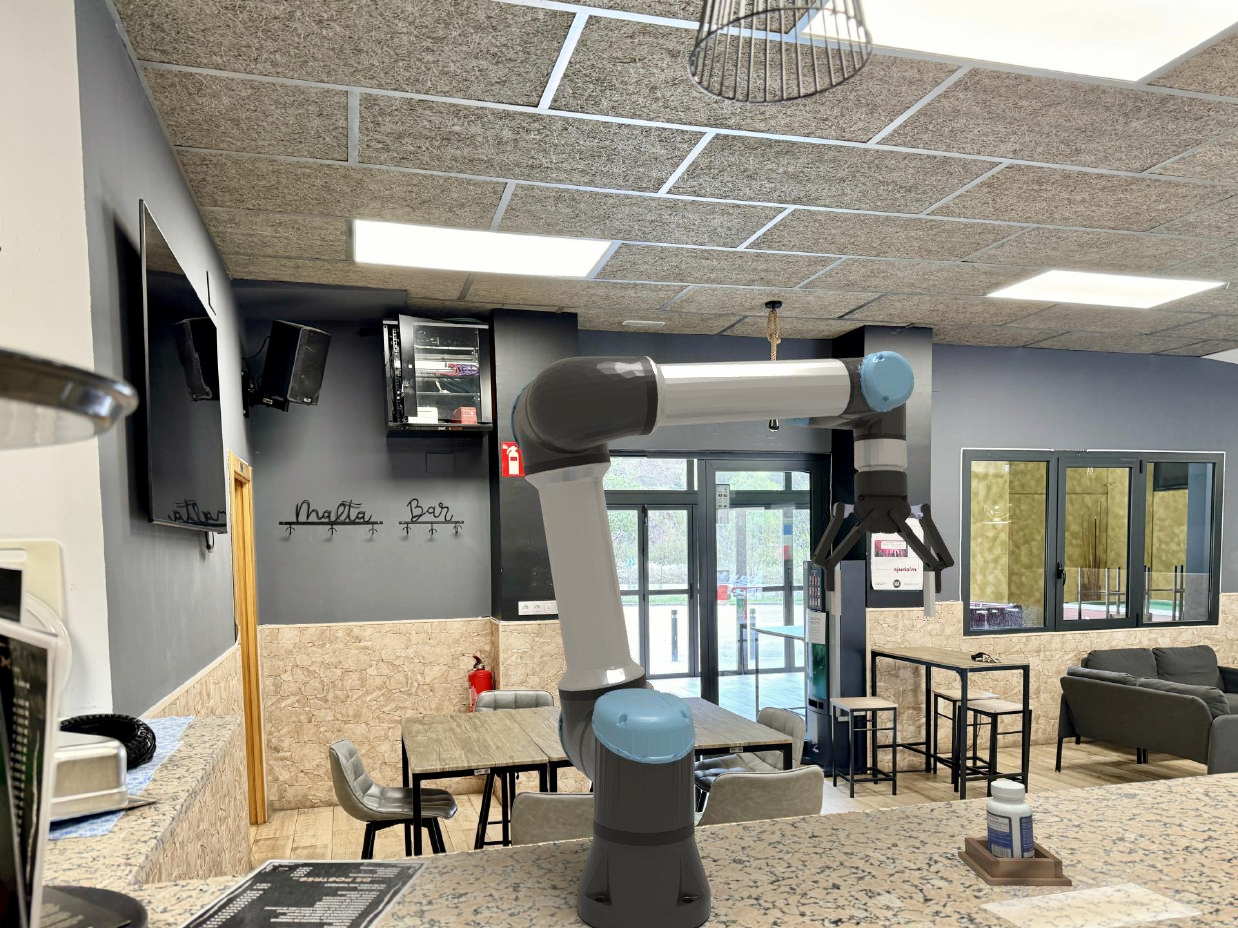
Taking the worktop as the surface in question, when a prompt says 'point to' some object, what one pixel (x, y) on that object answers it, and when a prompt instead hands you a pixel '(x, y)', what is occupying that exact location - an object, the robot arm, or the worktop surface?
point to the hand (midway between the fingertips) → (883, 615)
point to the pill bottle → (1009, 821)
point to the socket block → (1013, 866)
